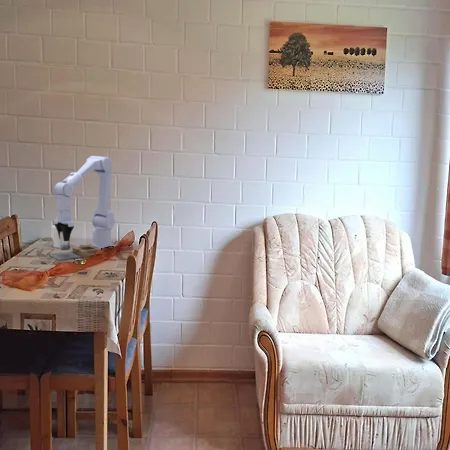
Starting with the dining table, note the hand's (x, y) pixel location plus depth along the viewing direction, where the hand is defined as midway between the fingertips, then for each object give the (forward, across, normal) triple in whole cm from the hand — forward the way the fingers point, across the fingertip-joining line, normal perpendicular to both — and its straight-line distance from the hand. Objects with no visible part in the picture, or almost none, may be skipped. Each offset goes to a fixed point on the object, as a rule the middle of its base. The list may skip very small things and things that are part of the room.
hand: (64, 240), depth 239 cm
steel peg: (+4, 0, 0) cm, 4 cm away
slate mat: (+8, 0, 0) cm, 8 cm away
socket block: (+8, 0, +11) cm, 13 cm away
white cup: (+8, -20, +7) cm, 23 cm away
